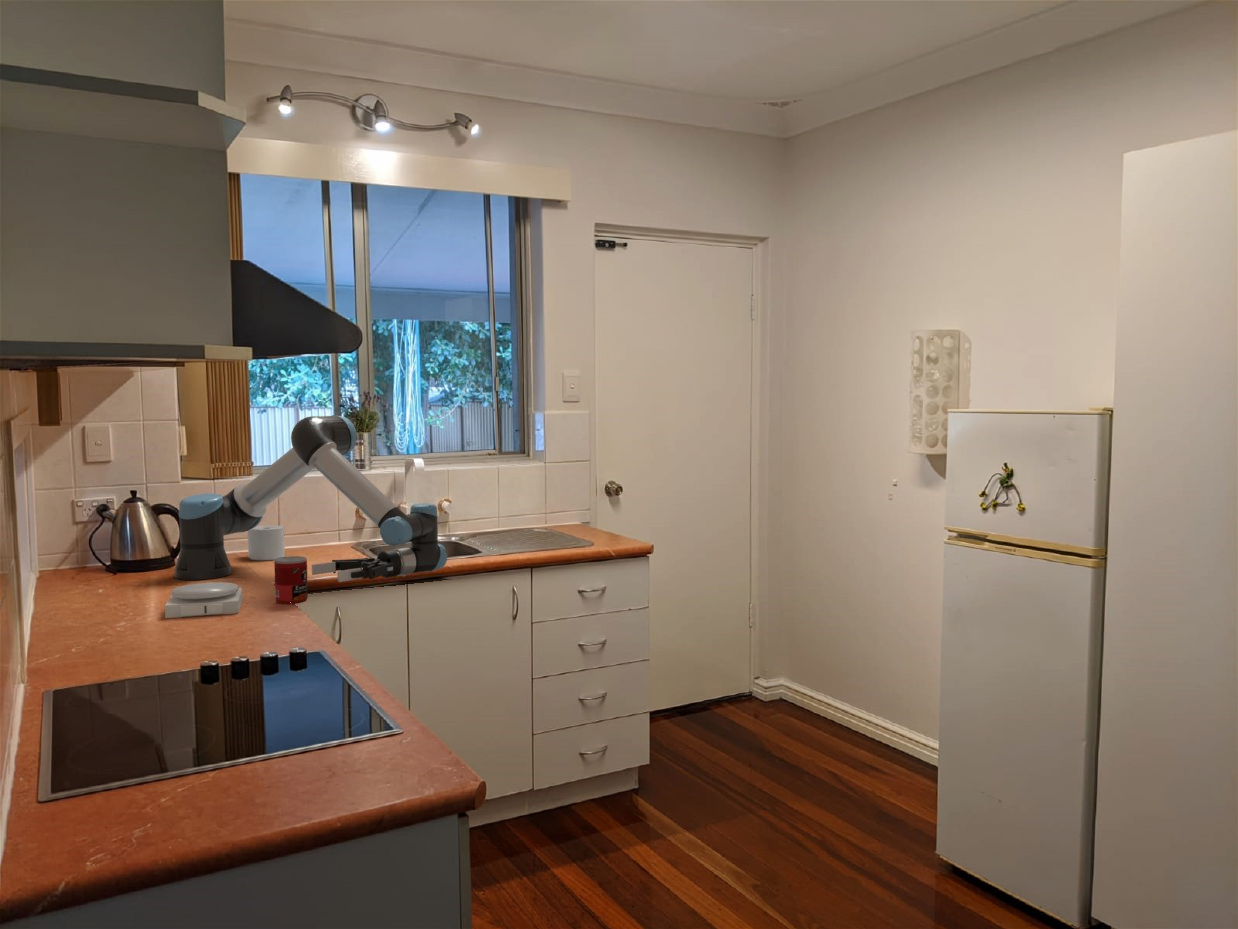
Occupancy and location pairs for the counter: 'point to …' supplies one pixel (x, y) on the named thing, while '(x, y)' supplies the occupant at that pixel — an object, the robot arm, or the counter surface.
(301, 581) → the canned food
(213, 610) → the kitchen scale
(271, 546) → the toilet tissue
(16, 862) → the counter surface
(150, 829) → the counter surface
